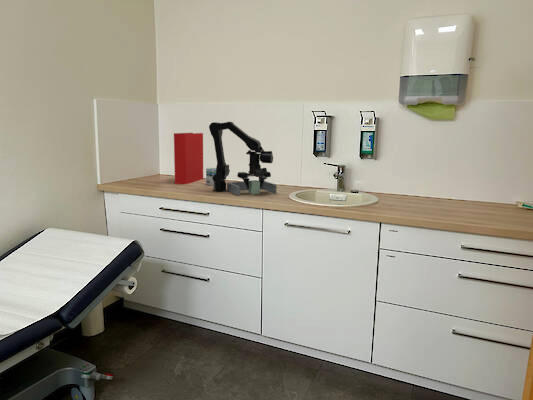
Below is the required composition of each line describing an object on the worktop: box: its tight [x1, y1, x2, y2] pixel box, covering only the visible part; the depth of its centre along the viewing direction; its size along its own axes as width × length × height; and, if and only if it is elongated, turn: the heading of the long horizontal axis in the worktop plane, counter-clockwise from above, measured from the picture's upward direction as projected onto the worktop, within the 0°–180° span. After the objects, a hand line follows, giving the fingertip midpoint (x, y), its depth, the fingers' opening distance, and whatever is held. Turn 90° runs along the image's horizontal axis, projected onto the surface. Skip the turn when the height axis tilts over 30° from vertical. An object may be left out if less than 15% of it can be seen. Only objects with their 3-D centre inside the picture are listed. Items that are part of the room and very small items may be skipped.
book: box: [173, 132, 204, 185], centre depth 261 cm, size 27×8×32 cm, turn 164°
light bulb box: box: [205, 166, 217, 187], centre depth 251 cm, size 11×7×11 cm, turn 143°
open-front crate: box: [226, 180, 278, 197], centre depth 228 cm, size 24×17×5 cm
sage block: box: [247, 179, 261, 195], centre depth 225 cm, size 5×5×7 cm
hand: (254, 189), depth 225 cm, fingers open, 7 cm apart
